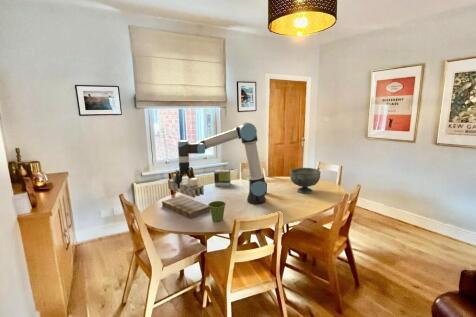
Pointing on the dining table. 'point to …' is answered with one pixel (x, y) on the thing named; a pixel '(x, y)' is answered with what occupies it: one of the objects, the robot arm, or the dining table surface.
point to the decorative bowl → (305, 178)
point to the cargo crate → (192, 181)
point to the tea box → (222, 177)
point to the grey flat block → (186, 206)
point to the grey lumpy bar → (187, 188)
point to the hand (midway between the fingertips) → (185, 190)
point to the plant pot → (217, 210)
